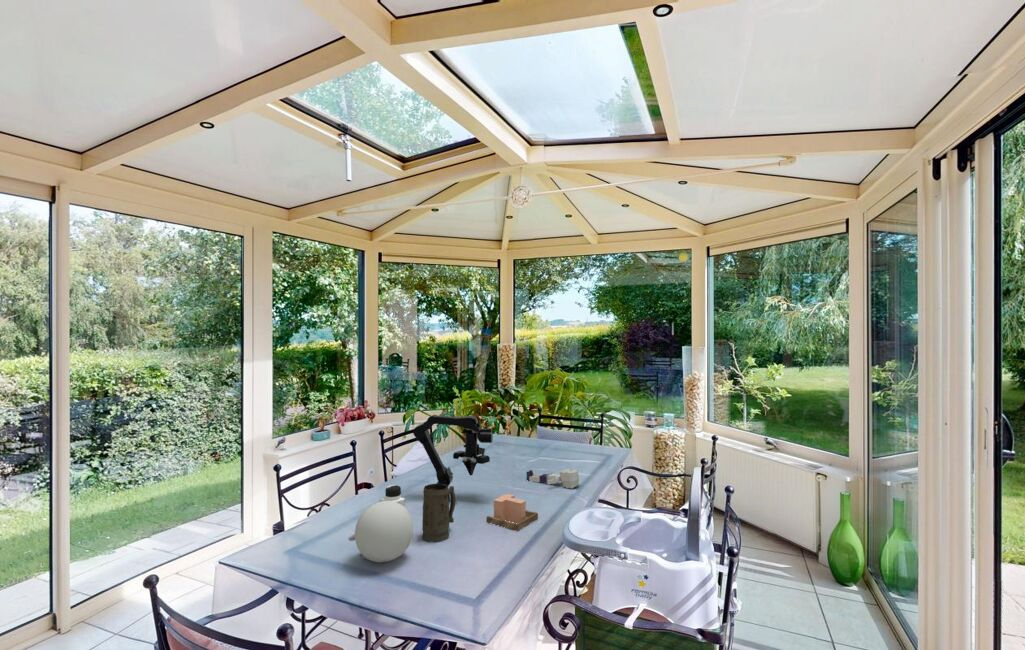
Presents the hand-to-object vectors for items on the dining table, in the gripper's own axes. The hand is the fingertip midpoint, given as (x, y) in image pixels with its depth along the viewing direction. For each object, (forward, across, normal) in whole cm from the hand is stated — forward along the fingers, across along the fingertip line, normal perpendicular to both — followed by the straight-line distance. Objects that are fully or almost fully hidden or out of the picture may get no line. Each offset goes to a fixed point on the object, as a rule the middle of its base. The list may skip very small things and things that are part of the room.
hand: (471, 475), depth 222 cm
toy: (+14, -18, -48) cm, 53 cm away
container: (+13, +17, +33) cm, 40 cm away
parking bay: (+13, -29, +7) cm, 33 cm away
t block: (+13, -29, +7) cm, 32 cm away
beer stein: (+13, -13, +35) cm, 40 cm away
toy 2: (+13, -12, +62) cm, 65 cm away
